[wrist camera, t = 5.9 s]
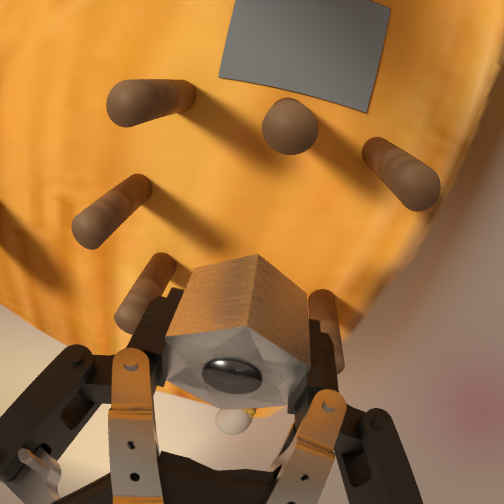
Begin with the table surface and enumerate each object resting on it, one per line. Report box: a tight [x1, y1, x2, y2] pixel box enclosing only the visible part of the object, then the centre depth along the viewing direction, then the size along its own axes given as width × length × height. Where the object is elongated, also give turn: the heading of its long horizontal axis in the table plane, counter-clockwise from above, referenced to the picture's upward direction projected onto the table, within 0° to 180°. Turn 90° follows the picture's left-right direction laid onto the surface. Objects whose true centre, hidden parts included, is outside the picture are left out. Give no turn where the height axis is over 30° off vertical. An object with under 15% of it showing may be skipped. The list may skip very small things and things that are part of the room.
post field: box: [72, 79, 441, 374], centre depth 22 cm, size 20×23×9 cm
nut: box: [165, 254, 311, 410], centre depth 12 cm, size 6×5×4 cm
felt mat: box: [218, 0, 391, 113], centre depth 18 cm, size 10×12×1 cm
